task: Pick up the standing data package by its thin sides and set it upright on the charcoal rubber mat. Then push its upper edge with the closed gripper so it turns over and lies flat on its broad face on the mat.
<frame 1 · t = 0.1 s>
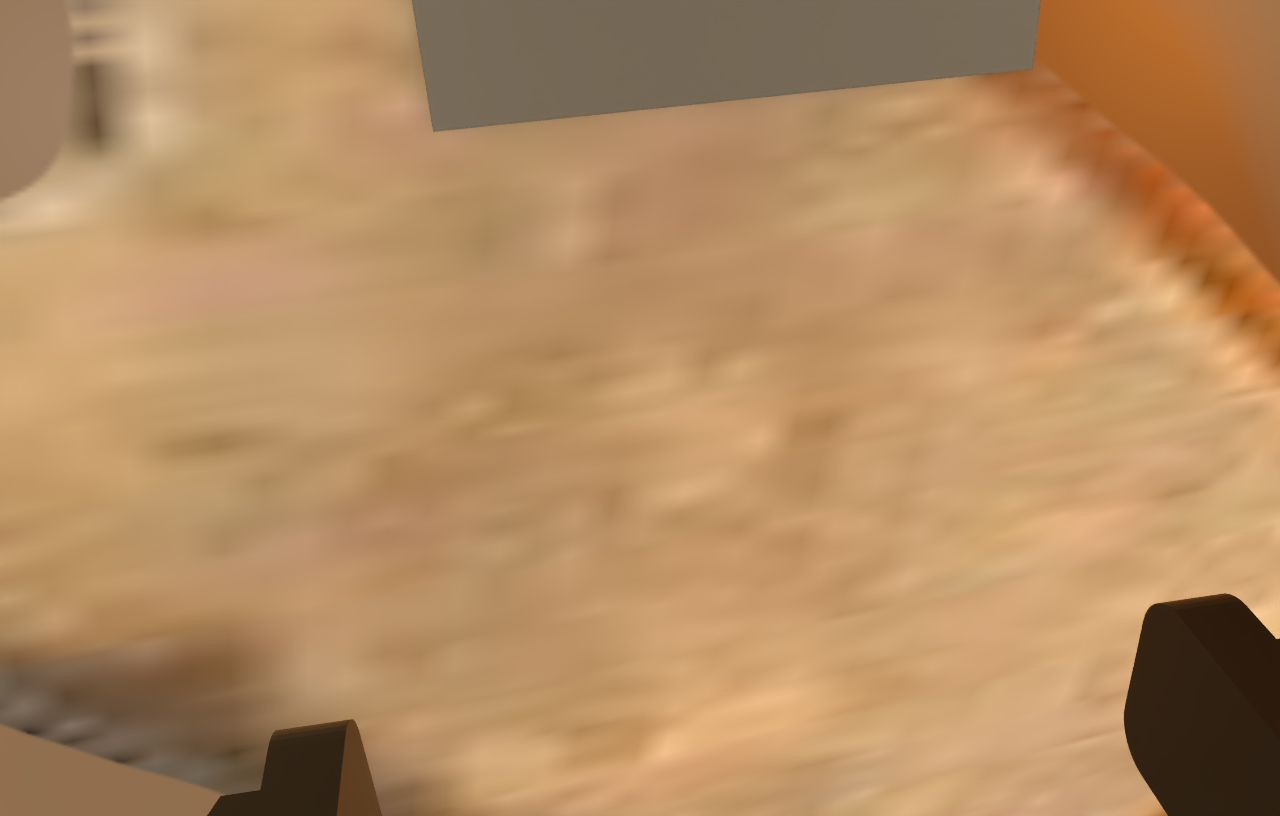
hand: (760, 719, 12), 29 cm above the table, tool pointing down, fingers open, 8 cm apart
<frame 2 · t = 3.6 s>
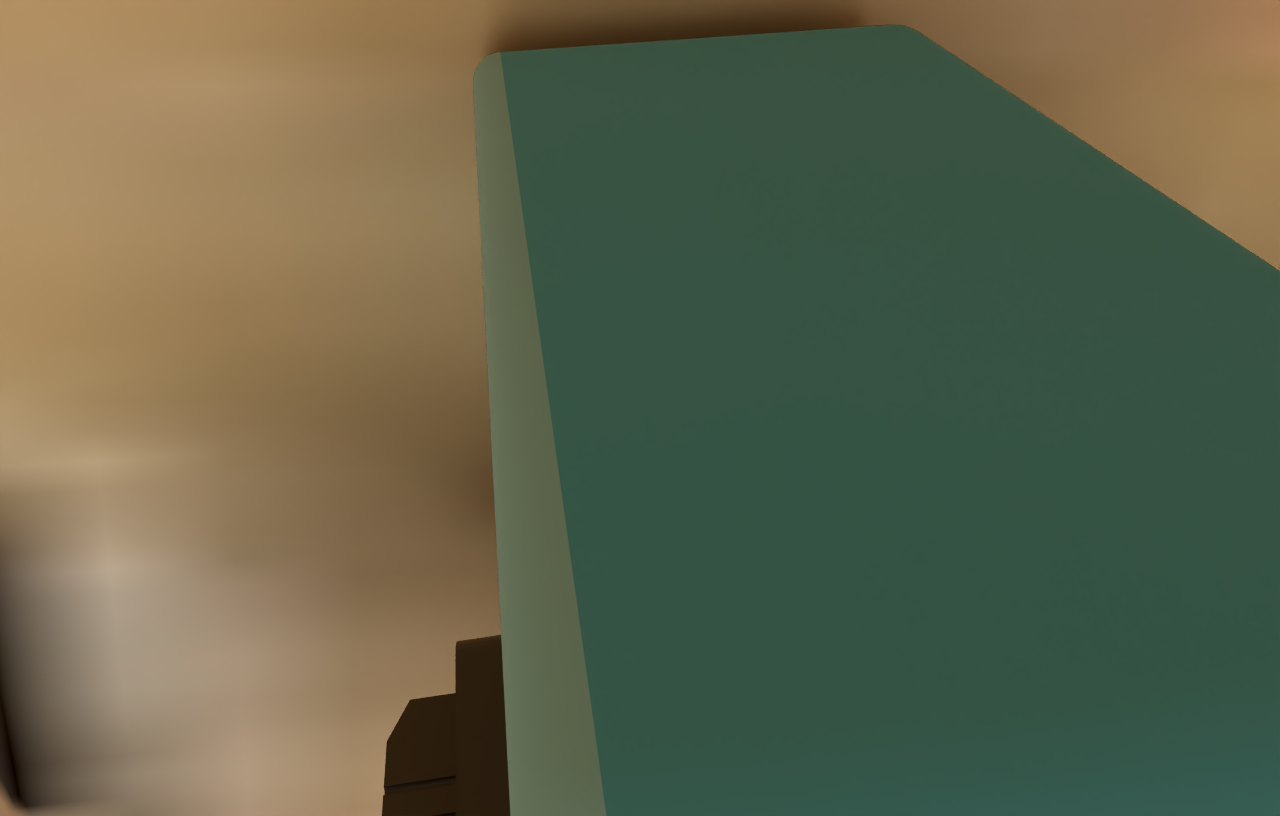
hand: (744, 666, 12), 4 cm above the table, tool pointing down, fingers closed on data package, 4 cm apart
data package: (682, 456, 16), on the table, touching gripper
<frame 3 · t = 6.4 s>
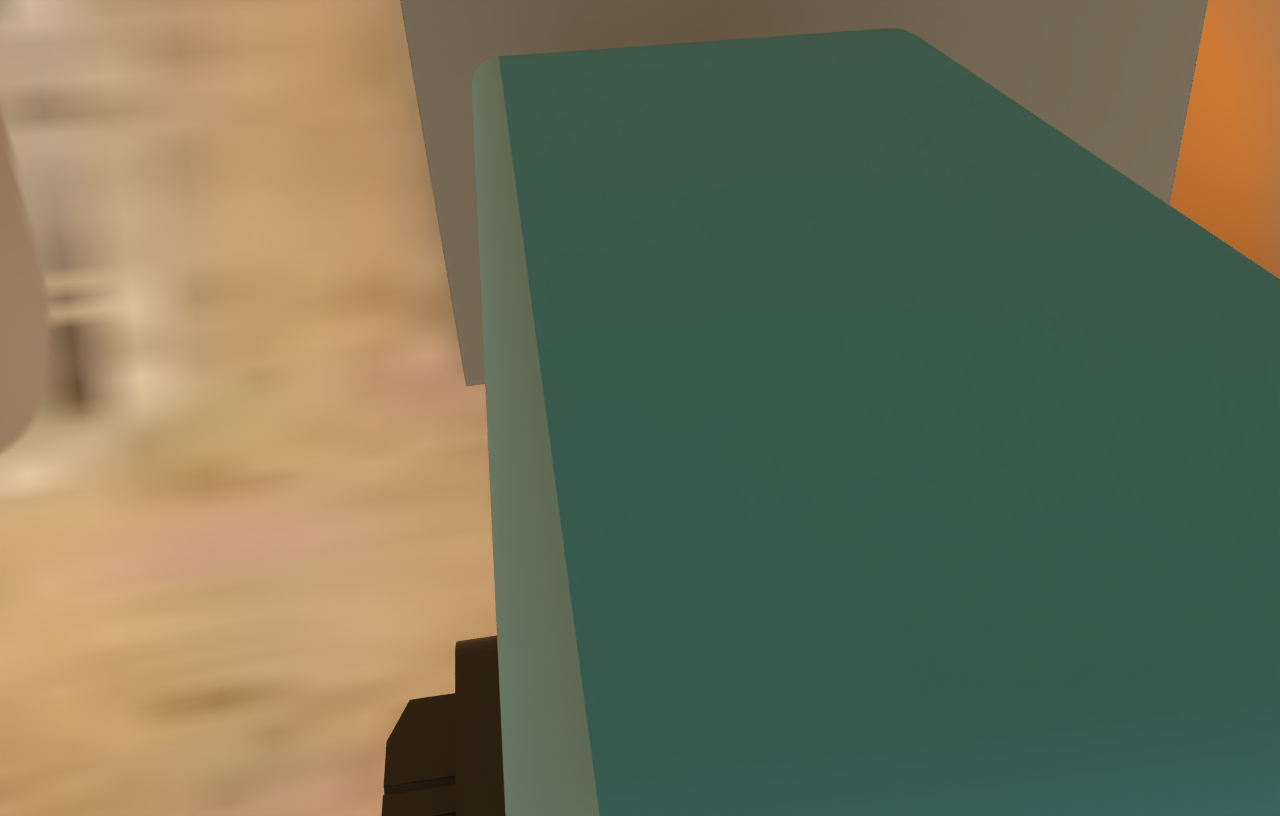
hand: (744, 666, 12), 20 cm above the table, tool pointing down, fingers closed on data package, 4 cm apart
data package: (682, 458, 16), point 16 cm above the table, touching gripper
mat: (815, 91, 29), on the table
when the fingers open (5 cm above the table, at t = 9.5 s): data package stays where it is, resting on mat.
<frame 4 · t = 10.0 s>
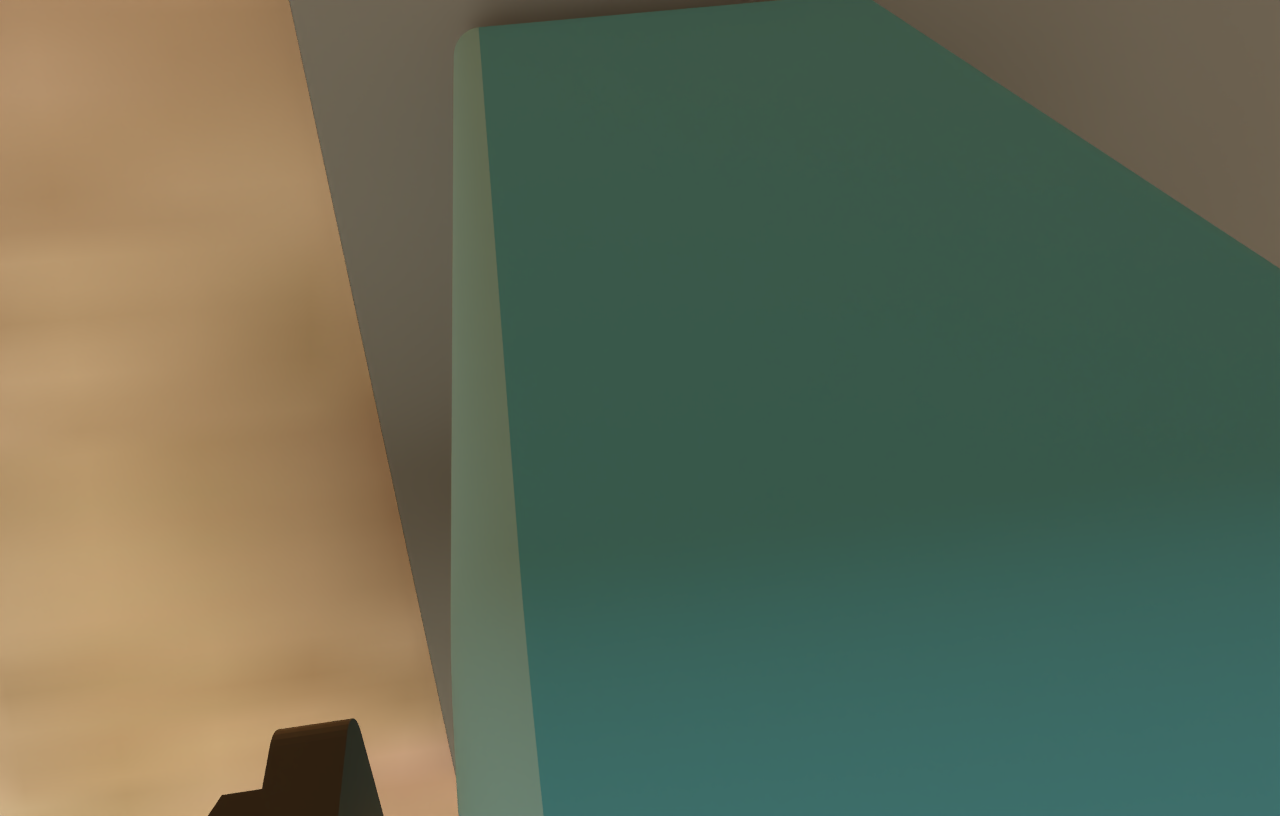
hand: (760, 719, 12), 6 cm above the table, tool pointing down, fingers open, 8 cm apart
data package: (667, 416, 16), resting on mat
mat: (1055, 358, 17), on the table
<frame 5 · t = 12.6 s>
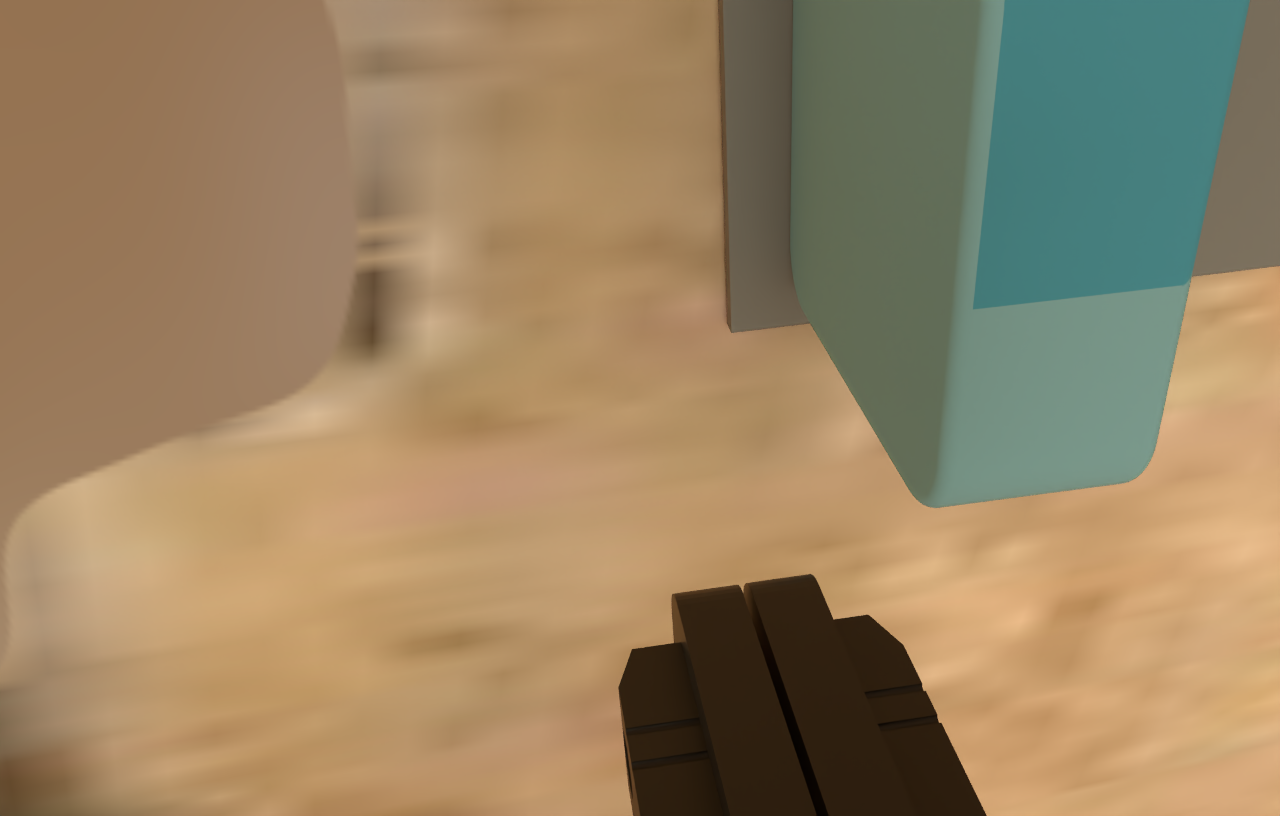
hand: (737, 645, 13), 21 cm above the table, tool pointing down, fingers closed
data package: (870, 75, 31), resting on mat
mat: (1079, 53, 31), on the table
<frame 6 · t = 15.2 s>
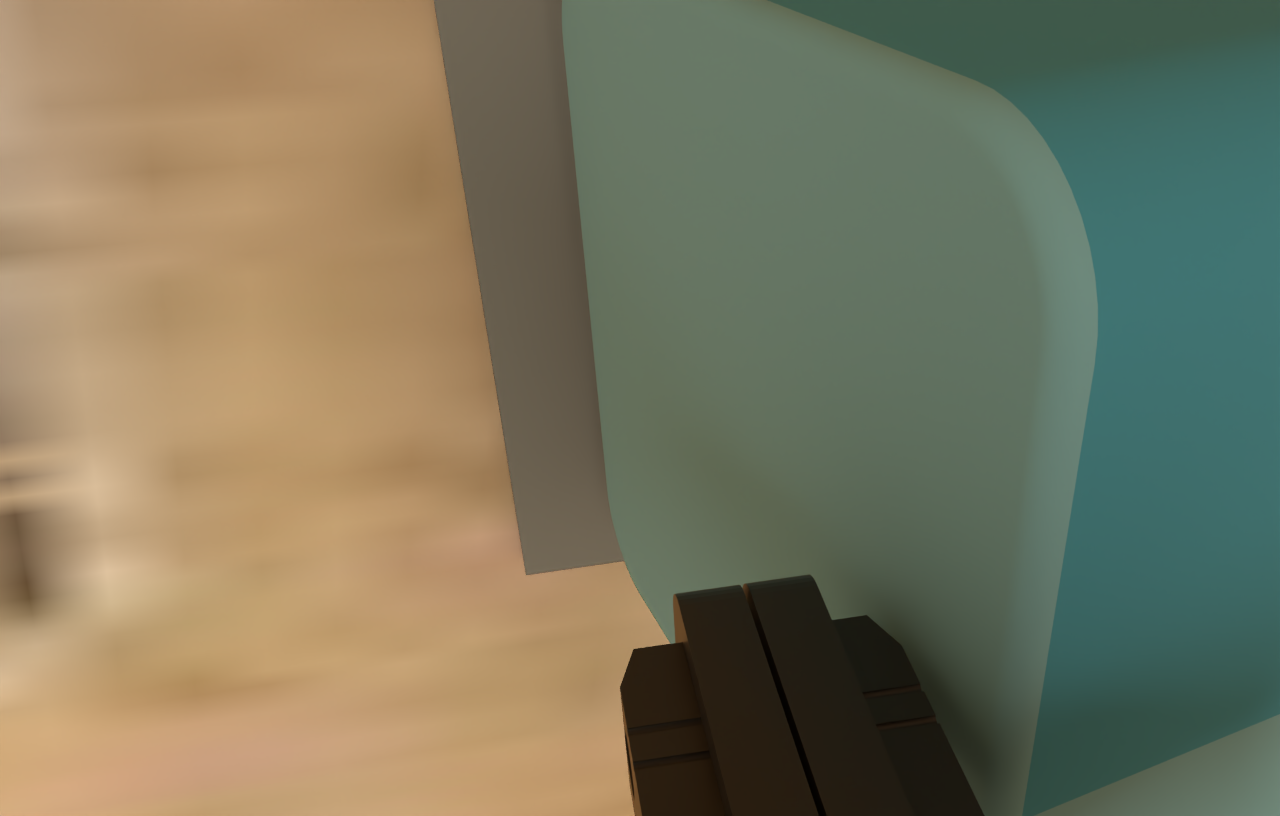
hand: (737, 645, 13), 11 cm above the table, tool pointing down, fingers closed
data package: (694, 256, 21), point 1 cm above the table, touching mat
mat: (987, 205, 22), on the table
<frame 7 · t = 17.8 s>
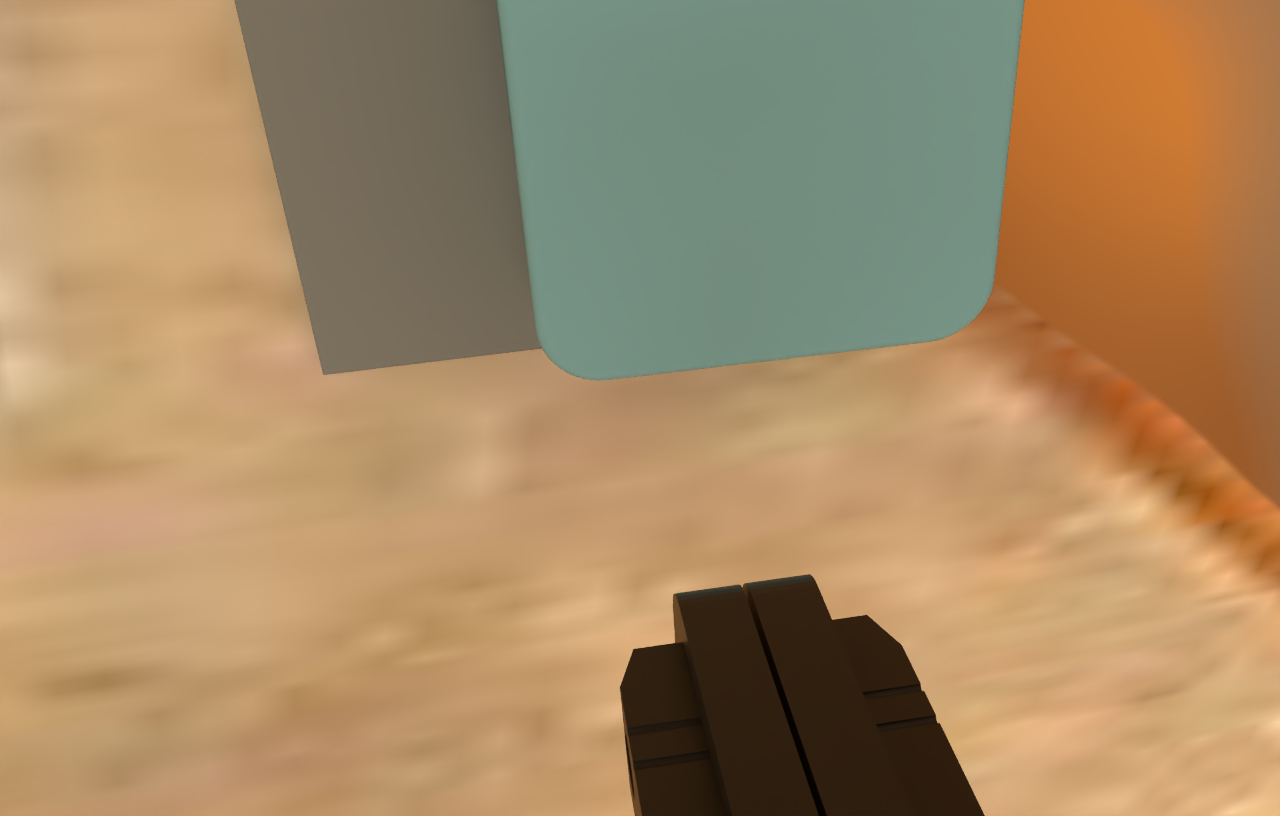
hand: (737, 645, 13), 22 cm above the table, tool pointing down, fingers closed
data package: (504, 138, 28), point 3 cm above the table, touching mat
mat: (644, 94, 31), on the table
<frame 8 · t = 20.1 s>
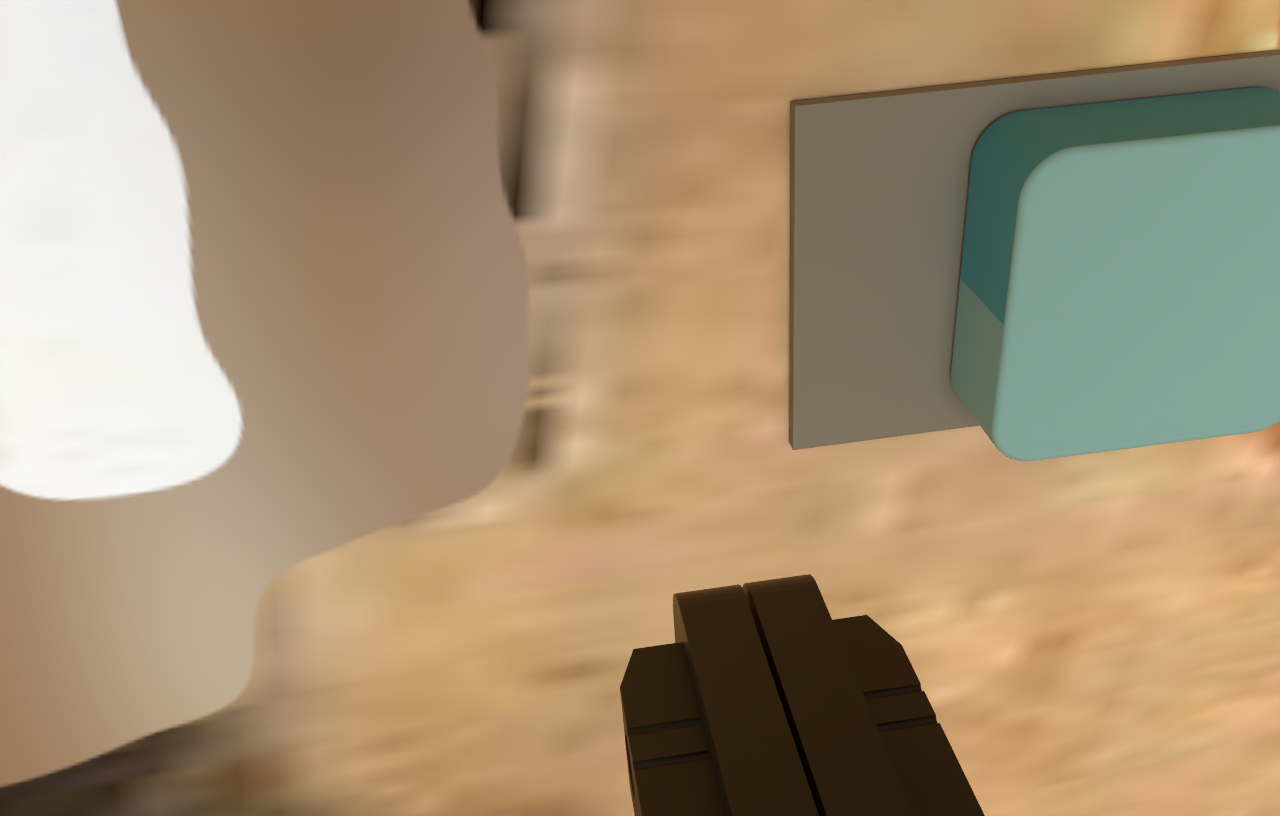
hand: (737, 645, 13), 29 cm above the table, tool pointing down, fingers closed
data package: (976, 297, 41), point 3 cm above the table, touching mat
mat: (1045, 255, 44), on the table
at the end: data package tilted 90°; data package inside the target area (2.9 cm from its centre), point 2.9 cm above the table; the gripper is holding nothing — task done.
